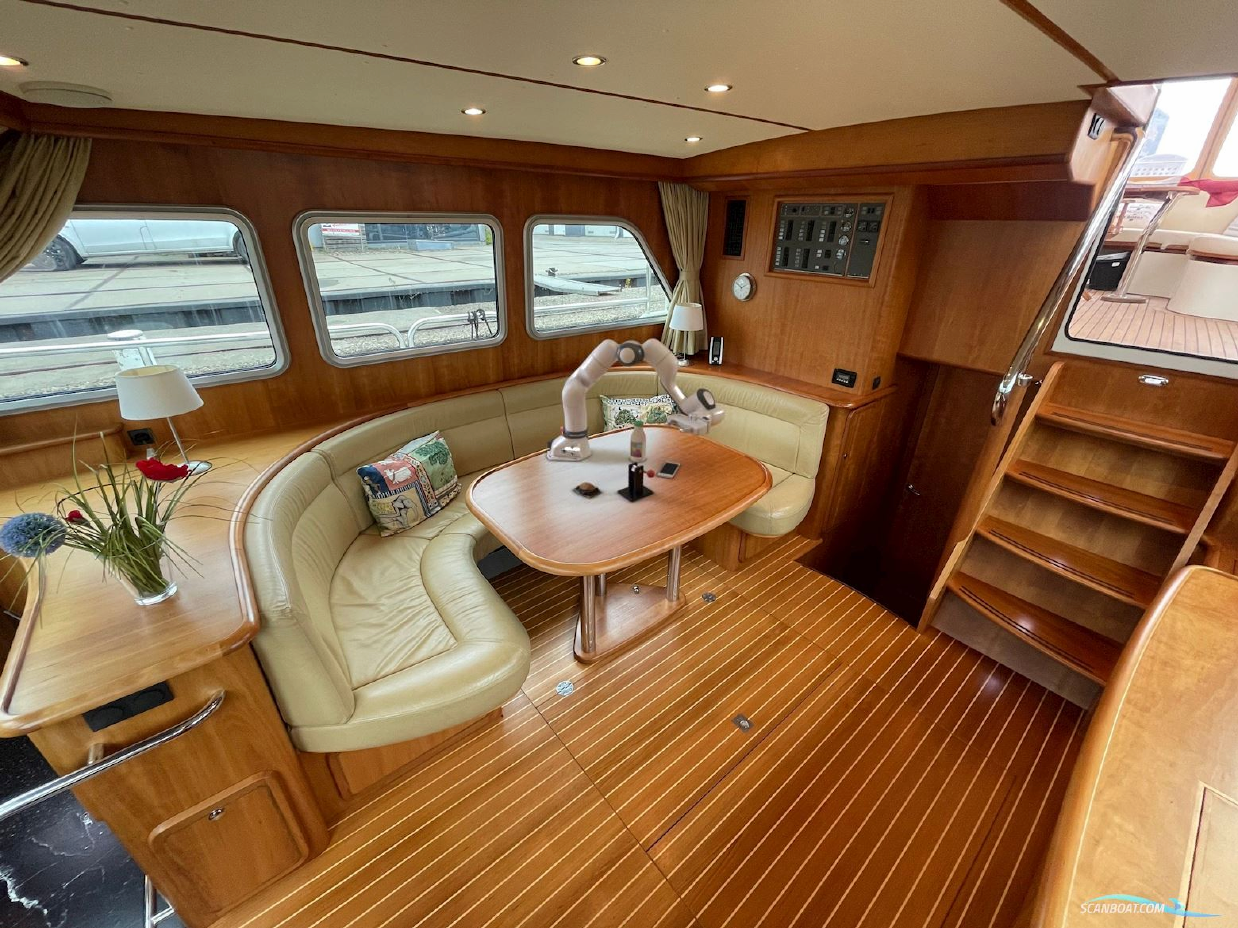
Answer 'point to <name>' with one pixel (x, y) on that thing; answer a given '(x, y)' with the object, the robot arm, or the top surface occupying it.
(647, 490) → the bracket
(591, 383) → the robot arm
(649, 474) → the lever
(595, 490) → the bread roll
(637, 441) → the milk bottle
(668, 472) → the smartphone
